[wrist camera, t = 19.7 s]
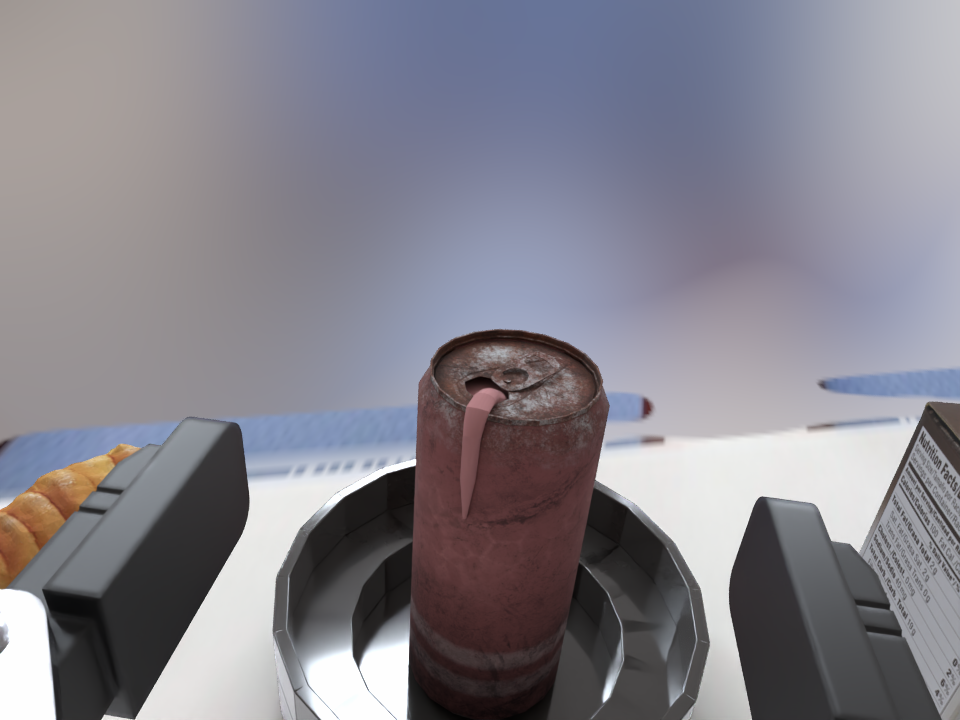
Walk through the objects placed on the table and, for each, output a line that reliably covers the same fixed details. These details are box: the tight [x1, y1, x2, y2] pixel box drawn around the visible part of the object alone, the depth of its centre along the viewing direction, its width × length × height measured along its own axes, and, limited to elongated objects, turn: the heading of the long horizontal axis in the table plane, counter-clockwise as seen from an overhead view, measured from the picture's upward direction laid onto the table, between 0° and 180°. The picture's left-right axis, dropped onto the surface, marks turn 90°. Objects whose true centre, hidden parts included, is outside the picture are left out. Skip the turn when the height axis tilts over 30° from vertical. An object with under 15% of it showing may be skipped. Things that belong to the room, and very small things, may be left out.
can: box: [409, 329, 610, 720], centre depth 26 cm, size 6×6×14 cm
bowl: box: [273, 459, 710, 720], centre depth 29 cm, size 16×16×5 cm
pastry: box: [0, 444, 141, 589], centre depth 33 cm, size 9×7×4 cm
